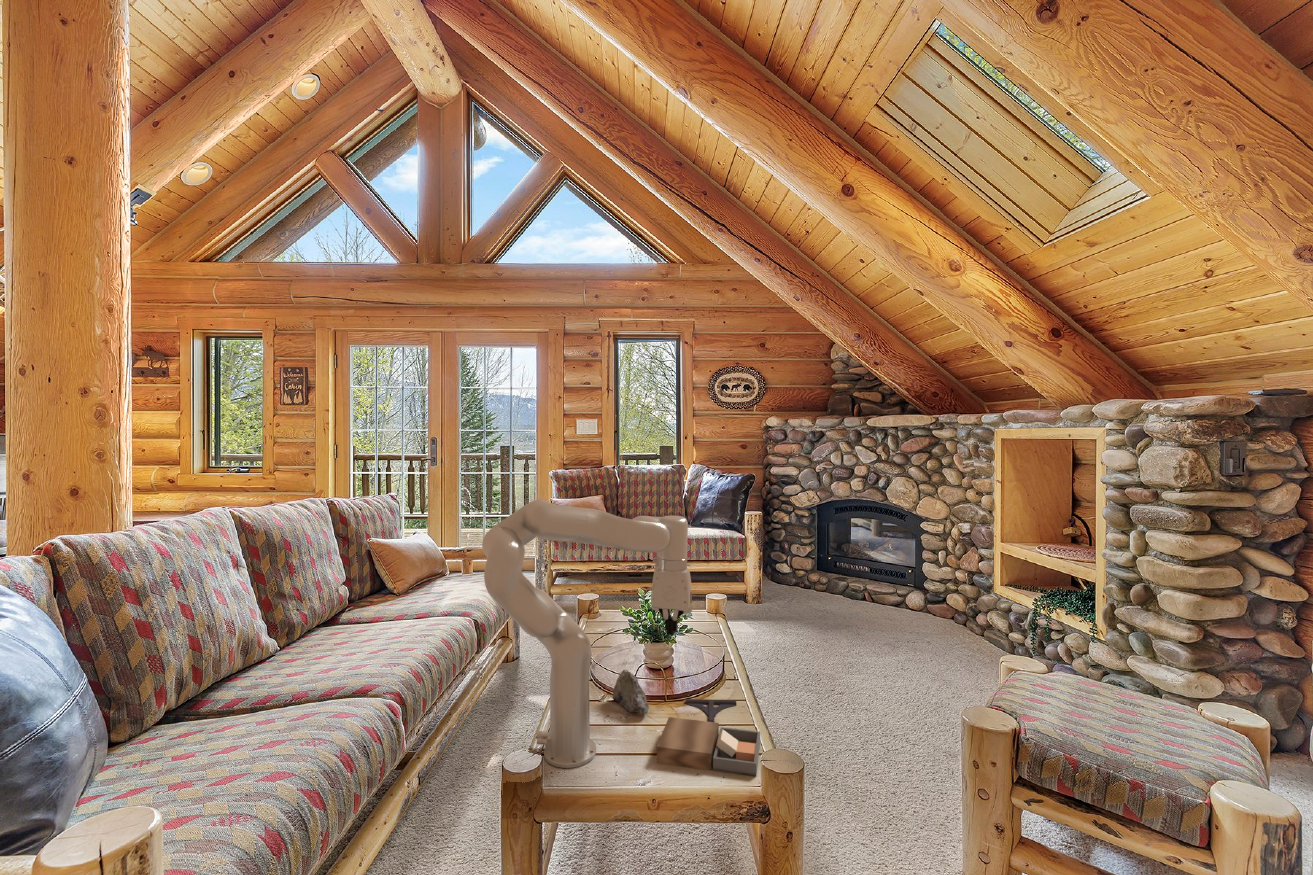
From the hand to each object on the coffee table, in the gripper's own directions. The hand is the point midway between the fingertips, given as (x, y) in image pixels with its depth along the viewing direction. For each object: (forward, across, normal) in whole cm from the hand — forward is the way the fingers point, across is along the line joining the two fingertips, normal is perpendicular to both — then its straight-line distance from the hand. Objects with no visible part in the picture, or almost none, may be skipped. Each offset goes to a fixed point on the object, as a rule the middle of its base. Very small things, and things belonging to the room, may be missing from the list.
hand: (671, 633), depth 158 cm
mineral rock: (+26, -13, +8) cm, 31 cm away
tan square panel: (+26, +7, -8) cm, 28 cm away
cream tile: (+24, +16, -7) cm, 29 cm away
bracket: (+26, +9, +10) cm, 30 cm away
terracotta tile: (+23, +21, -7) cm, 32 cm away
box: (+26, +19, -7) cm, 33 cm away
